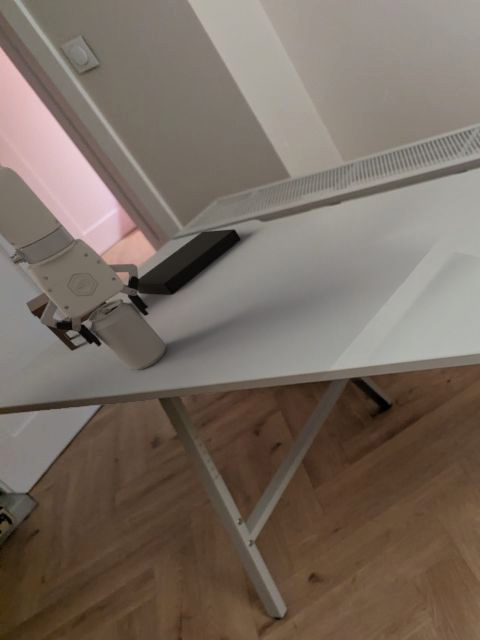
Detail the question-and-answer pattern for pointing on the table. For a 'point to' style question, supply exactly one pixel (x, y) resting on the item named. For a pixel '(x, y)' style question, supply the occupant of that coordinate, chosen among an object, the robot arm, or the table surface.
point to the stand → (38, 308)
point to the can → (127, 334)
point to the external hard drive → (187, 262)
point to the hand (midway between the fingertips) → (122, 328)
